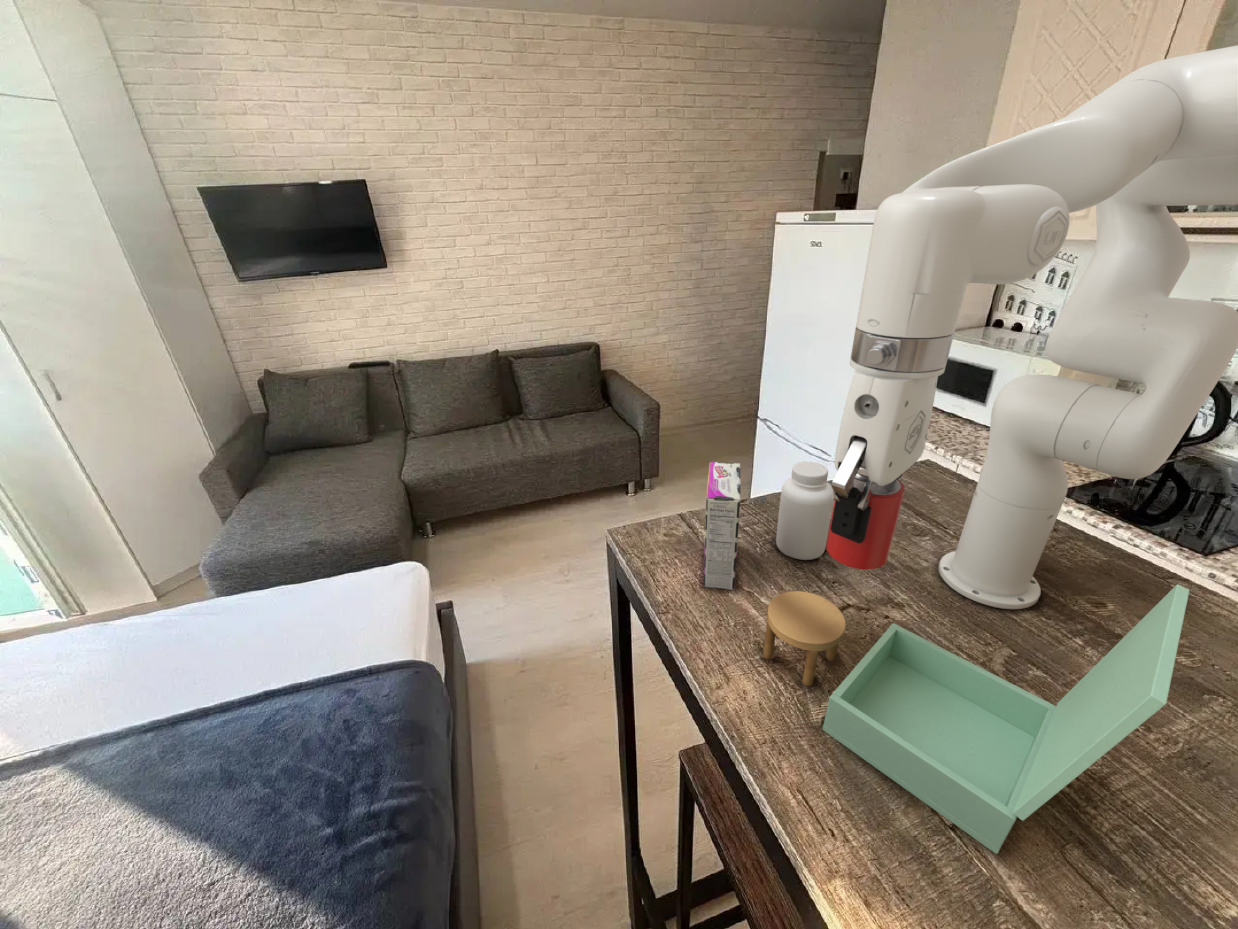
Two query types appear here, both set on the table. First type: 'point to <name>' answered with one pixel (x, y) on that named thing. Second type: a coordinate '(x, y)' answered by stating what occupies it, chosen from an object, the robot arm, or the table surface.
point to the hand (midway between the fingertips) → (862, 521)
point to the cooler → (941, 730)
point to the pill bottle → (805, 512)
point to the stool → (804, 627)
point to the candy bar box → (722, 525)
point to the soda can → (871, 528)
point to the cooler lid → (1107, 702)
